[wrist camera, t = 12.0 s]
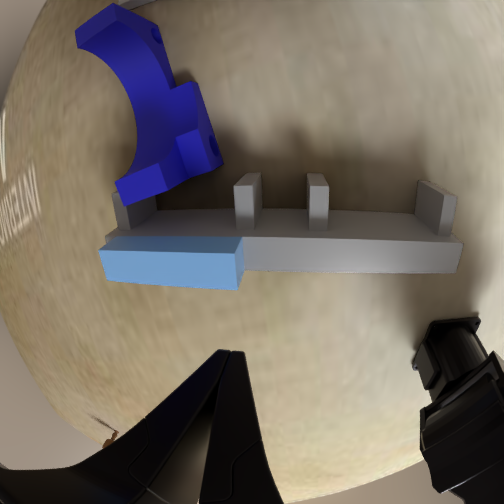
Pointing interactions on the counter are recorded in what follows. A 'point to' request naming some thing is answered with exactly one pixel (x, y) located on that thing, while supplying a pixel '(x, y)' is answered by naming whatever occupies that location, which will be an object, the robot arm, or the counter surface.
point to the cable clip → (152, 104)
